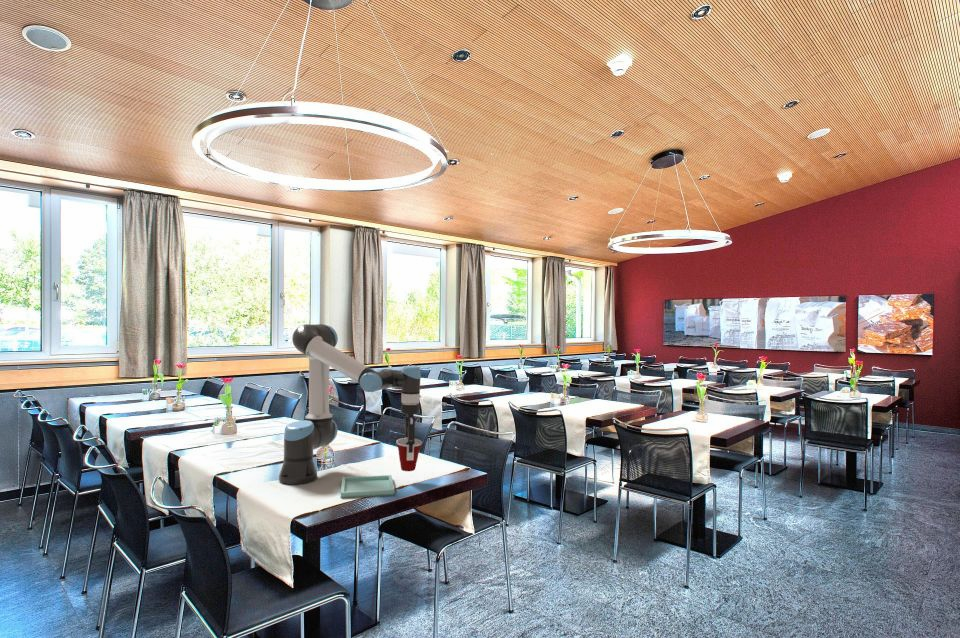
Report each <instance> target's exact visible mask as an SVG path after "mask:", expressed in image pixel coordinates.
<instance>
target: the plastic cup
mask: <svg viewBox="0 0 960 638" xmlns="http://www.w3.org/2000/svg"><path fill="white" fill-rule="evenodd" d="M410 441H412V440H410ZM395 443H396V446H397V449H398V455H399V465H400V469H401V471H403V472H413V471H415V470H416V467H417V462H418V458H419V453H420V449H421V445H422V444H423V441H422V440H420V439H419V438H415V444H414V460H407V445H406V443H408V438H406V437H404V438H403V437H401V438H399V439H396V441H395Z"/></svg>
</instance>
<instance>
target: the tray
mask: <svg viewBox="0 0 960 638" xmlns="http://www.w3.org/2000/svg"><path fill="white" fill-rule="evenodd" d="M385 496H388V497H389V496H395V486H394V481H393V476H392V474H388V475H387V474H385V475H384V474H383V475H366V476H365V475H362V476H343V477H342V478H341V487H340V499H347V498H348V499H349V498H363V497H364V498H365V497H366V498H367V497H369V498H370V497H385Z"/></svg>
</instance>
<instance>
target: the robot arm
mask: <svg viewBox="0 0 960 638" xmlns="http://www.w3.org/2000/svg"><path fill="white" fill-rule="evenodd" d="M338 338H339V337H338V333H337V332H336V330H335V329H334V328H333V327H332V326H330V325H328V324H323V323H317V324H307V323H306V324H302V325H300V326H298V327H296V329H295V330H294V331H293V334H292V340H291V341H292V344H293V346H294V348H295V349H296V350H297V351H298V352H300V353H302V354H303V355H305V356H306V357H307V358H308V413H307V414H306V415H305V417H304V420H297V421H293V422H291V423H288V424H287V425H286V426H285V427H284V434H283V463H282V466H281V468H280V472H279V474H278V481H280V482H279V483H281V482H282V483H281V484H284V483H286V484H285V485H303V483H304V484H308V482H309V483H311V482H314V481H316V480H317V479H318V471H317V468H316V465H315V464H316V463H315V461H314V450H316V449H319V448H321V447H323V448H324V447H325V446H328V445H330V444H331V443H332V442H333V441H334V440H335V439H336V438H337V435H338V431H339V429H338V425H337V423H336V422H335V420H334V419H333V414H332V413H331V412H330V367H331V368H332V369H333V370H335V371H337V372H338V373H340V374H342V375H344V376H346V377H347V378H349V379H351V380H352V381H354V382H356V383H357V384H359V386H360V388H361V389H362V390H363V391H364V392H366V393H375V392H379V391H382V390H387V389H389V388H391V389H401V396H400V397H401V400H400V401H401V405H400V406H401V407H400V412H401V414H403V415H405V416H404V438H408V443H406V445H407V460H414V444H415V439H416V438H415V437H416V436H415V433H416V432H415V431H416V430H415V427H416V417H415V416H414V415H418V414H419V413H420V398H422V395H421V378H422V375H421V368H420V366H416V365H404V366H402V370H398V369H388V368H384V369H382V368H381V369H380V368H379V369H377V370H374V369H372V368H371V367H369V366H368V365H366V364H364V363H362V362H360V361H359V360H357V359H355V358H354V357H352V356H350V355H349V354H347V353H345V352H343V351H342V350H340V349H338V348H337V347H336V346H337V344H338V341H339V339H338ZM410 440H412V441H410Z"/></svg>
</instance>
